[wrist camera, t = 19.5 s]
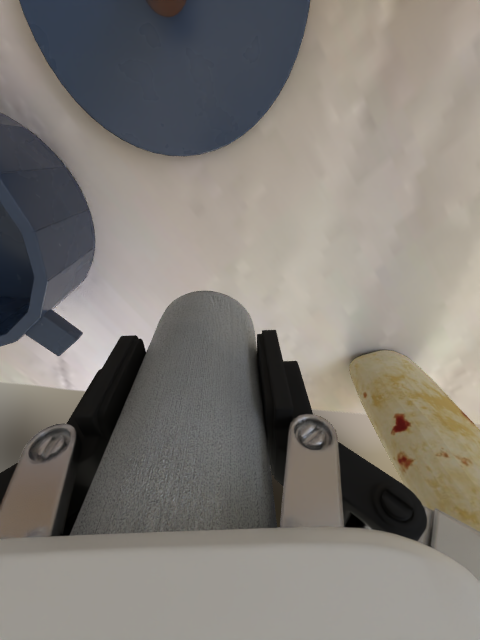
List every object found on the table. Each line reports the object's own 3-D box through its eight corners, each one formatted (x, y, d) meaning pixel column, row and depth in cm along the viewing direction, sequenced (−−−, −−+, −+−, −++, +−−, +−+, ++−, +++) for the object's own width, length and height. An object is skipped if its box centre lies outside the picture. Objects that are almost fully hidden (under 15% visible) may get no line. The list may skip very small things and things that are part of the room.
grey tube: (186, 376, 15) (121, 694, 6) (142, 308, 13) (-54, 657, 4) (266, 352, 14) (317, 675, 6) (234, 275, 12) (236, 618, 3)
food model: (328, 374, 32) (442, 628, 15) (368, 331, 29) (567, 586, 12) (390, 401, 35) (546, 643, 18) (432, 364, 32) (668, 611, 15)
